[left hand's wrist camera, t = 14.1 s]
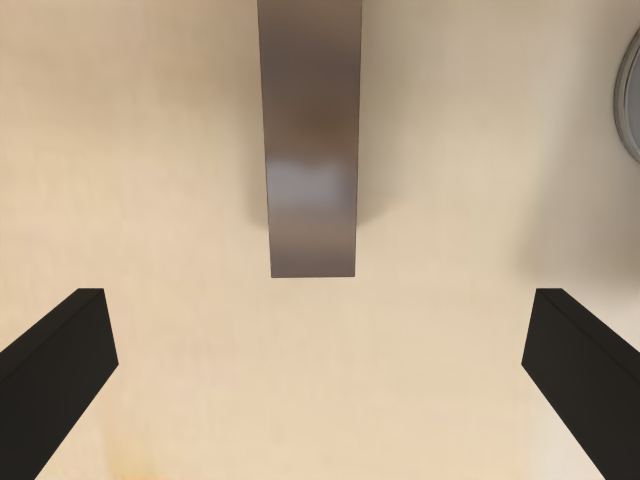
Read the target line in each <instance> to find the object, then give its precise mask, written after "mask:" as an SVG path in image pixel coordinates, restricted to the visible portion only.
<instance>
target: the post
mask: <svg viewBox="0 0 640 480" xmlns="http://www.w3.org/2000/svg"><path fill="white" fill-rule="evenodd" d="M257 6H258V25H259V45H260V65H261V85H262V104H263V124H264V144H265V163H266V183H267V203H268V223H269V242H270V262H271V278H304V277H355V251H356V213H357V174H358V136H359V98H360V60H361V21H362V0H257Z"/></svg>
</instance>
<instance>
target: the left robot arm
mask: <svg viewBox="0 0 640 480" xmlns="http://www.w3.org/2000/svg"><path fill="white" fill-rule="evenodd" d="M614 113H615V120H616V126H617V129H618V133H619V135H620V138H621V140H622V142H623V144H624V146H625V147H626V149H627V150H628V152H629V153H630V154H631V156H632V157H633V158H634V159H635V160H636V161H637V162H639V163H640V30H639V31H638V33H637V34H636V36H635V38H634V39H633V41H632V43H631V44H630V46H629V48H628V50H627V52H626V55H625V57H624V60H623V62H622V65H621V68H620V71H619V74H618V78H617V83H616V88H615V96H614ZM118 365H119V363H118V358H117V353H116V348H115V343H114V338H113V333H112V328H111V323H110V318H109V313H108V308H107V303H106V298H105V293H104V288H78V289H77V290H76V291H75V292H73V293H72V294H71V295H70V296H68V297H67V298H66V299H65V300H64V301H62V302H61V303H60V304H59V305H58V306H56V307H55V308H54V309H53V310H51V311H50V312H49V313H48V314H47V315H45V316H44V317H43V318H42V319H41V320H39V321H38V322H37V323H36V324H34V325H33V326H32V327H31V328H30V329H28V330H27V331H26V332H25V333H24V334H22V335H21V336H20V337H19V338H17V339H16V340H15V341H14V342H13V343H11V344H10V345H9V346H8V347H7V348H5V349H4V350H3V351H2V352H0V480H35V478H36V477H37V475H38V474H39V473H40V471H41V470H42V469H43V467H44V466H45V465H46V463H47V462H48V460H49V459H50V458H51V456H52V455H53V454H54V452H55V451H56V450H57V448H58V447H59V445H60V444H61V443H62V441H63V440H64V439H65V437H66V436H67V434H68V433H69V432H70V430H71V429H72V428H73V426H74V425H75V424H76V422H77V421H78V419H79V418H80V417H81V415H82V414H83V413H84V411H85V410H86V409H87V407H88V406H89V404H90V403H91V402H92V400H93V399H94V398H95V396H96V395H97V393H98V392H99V391H100V389H101V388H102V387H103V385H104V384H105V383H106V381H107V380H108V378H109V377H110V376H111V374H112V373H113V372H114V370H115V369H116V368H117V366H118ZM521 365H522V366H523V368H524V369H525V370H526V372H527V373H528V374H529V376H530V377H531V378H532V380H533V381H534V383H535V384H536V385H537V387H538V388H539V389H540V391H541V392H542V393H543V395H544V396H545V398H546V399H547V400H548V402H549V403H550V404H551V406H552V407H553V409H554V410H555V411H556V413H557V414H558V415H559V417H560V418H561V419H562V421H563V422H564V424H565V425H566V426H567V428H568V429H569V430H570V432H571V433H572V434H573V436H574V437H575V439H576V440H577V441H578V443H579V444H580V445H581V447H582V448H583V450H584V451H585V452H586V454H587V455H588V456H589V458H590V459H591V460H592V462H593V463H594V465H595V466H596V467H597V469H598V470H599V471H600V473H601V474H602V475H603V477H604V478H605V480H640V352H638V351H637V350H636V349H635V348H633V347H632V346H631V345H630V344H629V343H627V342H626V341H625V340H624V339H623V338H621V337H620V336H619V335H618V334H616V333H615V332H614V331H613V330H612V329H610V328H609V327H608V326H607V325H606V324H604V323H603V322H602V321H601V320H599V319H598V318H597V317H596V316H595V315H593V314H592V313H591V312H590V311H589V310H587V309H586V308H585V307H584V306H582V305H581V304H580V303H579V302H578V301H576V300H575V299H574V298H573V297H572V296H570V295H569V294H568V293H567V292H565V291H564V290H563V289H562V288H536V293H535V298H534V303H533V308H532V313H531V318H530V323H529V328H528V333H527V338H526V343H525V348H524V353H523V358H522V363H521Z"/></svg>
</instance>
